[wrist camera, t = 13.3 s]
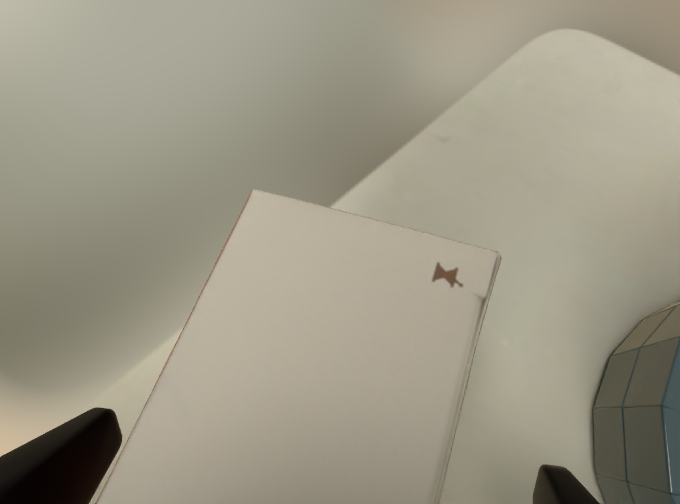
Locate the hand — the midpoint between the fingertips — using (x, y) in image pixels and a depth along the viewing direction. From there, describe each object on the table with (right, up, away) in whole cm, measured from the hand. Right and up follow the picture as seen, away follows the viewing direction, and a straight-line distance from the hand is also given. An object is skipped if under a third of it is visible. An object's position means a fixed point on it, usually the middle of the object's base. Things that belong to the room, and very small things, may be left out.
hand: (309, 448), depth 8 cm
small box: (+1, -3, +8) cm, 9 cm away
